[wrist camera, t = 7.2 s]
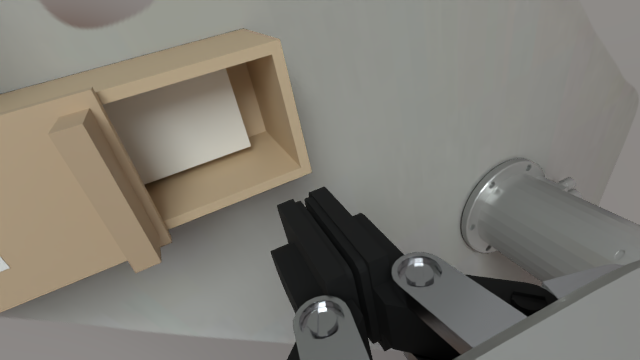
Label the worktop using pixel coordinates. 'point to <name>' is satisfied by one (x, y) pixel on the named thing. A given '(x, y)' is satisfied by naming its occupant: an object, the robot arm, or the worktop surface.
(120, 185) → the lid
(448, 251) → the worktop surface
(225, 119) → the box
